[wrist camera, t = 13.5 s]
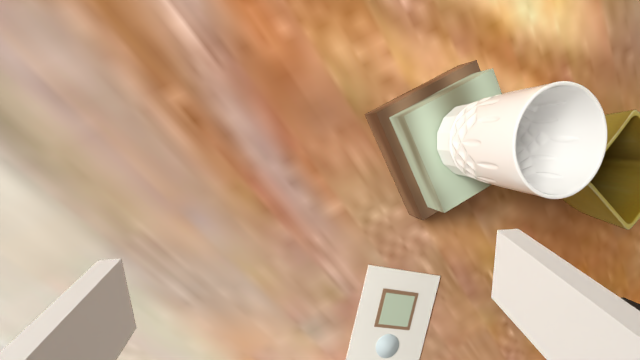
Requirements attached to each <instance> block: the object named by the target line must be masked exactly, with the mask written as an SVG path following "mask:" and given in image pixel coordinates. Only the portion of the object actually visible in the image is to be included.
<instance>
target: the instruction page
mask: <svg viewBox="0 0 640 360" xmlns="http://www.w3.org/2000/svg"><path fill="white" fill-rule="evenodd" d="M439 280H440V276H439V275H433V274H426V273H420V272H413V271H407V270H400V269H394V268H387V267H381V266H374V265H368V269H367V273H366V277H365V281H364V285H363V290H362V294H361V298H360V302H359V306H358V310H357V314H356V319H355V323H354V327H353V331H352V335H351V339H350V343H349V347H348V352H347V356H346V360H419V359H420V355H421V351H422V347H423V343H424V339H425V335H426V331H427V327H428V323H429V319H430V315H431V311H432V307H433V304H434V300H435V296H436V292H437V288H438V284H439Z"/></svg>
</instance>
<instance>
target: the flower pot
mask: <svg viewBox="0 0 640 360" xmlns="http://www.w3.org/2000/svg"><path fill="white" fill-rule="evenodd" d="M605 118H606V123H607V146H606V151H605V155H604V158H603V161H602V163H601V166H600V168H599V170H598V171H597V173H596V175H595V176H594V178H593V179H592V180H591V181H590V182H589V183H588V185H587V186H585V187H584V188H583V189H582V190H580V191H579V192H577V193H576V194H574V195H572V196H569V197H566V198H562V199H563V200H564V201H565V202H566V203H568V204H569V205H571V206H572V207H574V208H575V209H577V210H578V211H580V212H582V213H584V214H587V215H589V216H592V217H595V218H597V219H600V220H603V221H605V222H608V223H611V224H614V225H616V226H619V227H622V228H625V229H628V230H629V229H631V227H632V226H633V225H634V224H635V223H636V222H637V221H638V219H639V218H640V113H639V112H638V111H637V110H631V111H625V112H619V113H613V114H607V115H605Z"/></svg>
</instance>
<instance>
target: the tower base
mask: <svg viewBox="0 0 640 360" xmlns="http://www.w3.org/2000/svg"><path fill="white" fill-rule="evenodd" d="M500 94H502V93H501V90H500V87H499V84H498V81H497V79H496V76H495V73H494V70H493V68H492V69H488V70H485V71H480V69H479V66H478V63H477V60H475V61H472V62H469V63H465V64H462V65H459V66H457V67H455V68H453V69H451V70H449V71H447V72H445V73H443V74H441V75H439V76H437V77H436V78H434V79H432V80H430V81H428V82H426V83H424V84H422V85H420V86H418V87H416V88H414V89H413V90H411V91H409V92H407V93H405V94H403V95H401V96H399V97H397V98H395V99H393V100H391V101H390V102H388V103H386V104H384V105H382V106H380V107H378V108H376V109H374V110H372V111H370V112H368V113H367V114H365V117H366V119H367V121H368V123H369V126H370V128H371V130H372V132H373V135H374V137H375V139H376V141H377V144H378V146H379V148H380V150H381V152H382V155H383V157H384V159H385V161H386V164H387V166H388V168H389V170H390V173H391V175H392V177H393V179H394V182H395V184H396V186H397V188H398V191H399V193H400V195H401V197H402V200H403V202H404V204H405V206H406V209H407V211H408V213H409V214H410V215H412V216H414V217H417V218H419V219H421V220H424V219H426V218H428V217H430V216H431V215H433V214H435V213H436V212H438V211H440V212H443V213H445V212H447V211H449V210H450V209H452V208H454V207H455V206H457V205H459V204H460V203H462V202H464V201H465V200H467V199H469V198H470V197H472V196H474V195H475V194H477V193H479V192H480V191H482V190H484V189H485V188H487V187H489V186H490V185H492V184H488V183H485V182H481V181H478V180H476V179H474V178H471V177H467V176H463V175H458V174H454V173H453V172H452V171H451V170H450V169H448V168H447V167H446V166H445V165H444V164H443V163H442V160H441V158H440V156H439V153H438V151H437V132H438V129H439V127H440V125H441V122H442V120H443V118H444V117H445V116H446V115H447V114H448V113H449V112H450V111H451V110H452V109H453V108H454V107H456V106H459V105H463V104H467V103H470V102H475V101H479V100H480V99H483V98H487V97H491V96H495V95H500Z"/></svg>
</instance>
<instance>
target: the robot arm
mask: <svg viewBox="0 0 640 360" xmlns="http://www.w3.org/2000/svg"><path fill="white" fill-rule="evenodd" d="M491 298H492V299H493V300H494V301H495V302H496V303H497V305H498V306H499V307H500V308H501V309H502V310H503V311H504V312H505V313H506V315H507V316H508V317H509V318H510V319H511V320H512V321H513V322H514V324H515V325H516V326H517V327H518V328H519V329H520V330H521V331H522V332H523V334H524V335H525V336H526V337H527V338H528V339H529V340H530V341H531V343H532V344H533V345H534V346H535V347H536V348H537V349H538V350H539V351H540V353H541V354H542V355H543V356H544V357H545V358H546V359H547V360H640V304H638V303H635V302H633V301H631V300H628V299H626V298H624V297H623V298H620V297H618V296H617V295H615V294H614V293H612V292H611V291H609V290H608V289H606V288H605V287H603V286H602V285H601V284H599V283H598V282H596V281H595V280H593V279H592V278H590V277H589V276H587V275H586V274H584V273H583V272H581V271H580V270H578V269H577V268H575V267H574V266H572V265H571V264H569V263H568V262H567V261H565V260H564V259H562V258H561V257H559V256H558V255H556V254H555V253H553V252H552V251H550V250H549V249H547V248H546V247H544V246H543V245H541V244H540V243H538V242H537V241H535V240H534V239H533V238H531V237H530V236H528V235H527V234H525V233H524V232H522V231H521V230H519V229H508V230H497V239H496V251H495V262H494V273H493V285H492V296H491ZM135 329H136V323H135V319H134V314H133V310H132V305H131V300H130V296H129V291H128V287H127V282H126V277H125V273H124V268H123V264H122V259H109V260H98V261H97V262H96V263H95V264H94V265H93V266H92V267H90V268H89V269H88V270H87V271H86V272H85V273H84V274H83V275H82V276H81V277H80V278H79V279H78V280H77V281H75V282H74V283H73V284H72V285H71V286H70V287H69V288H68V289H67V290H66V291H65V292H64V293H63V294H62V295H60V296H59V297H58V298H57V299H56V300H55V301H54V302H53V303H52V304H51V305H50V306H49V307H48V308H47V309H45V310H44V311H43V312H42V313H41V314H40V315H39V316H38V317H37V318H36V319H35V320H34V321H33V322H32V323H30V324H29V325H28V326H27V327H26V328H25V329H24V330H23V331H22V332H21V333H20V334H19V335H18V336H17V337H15V338H14V339H13V340H12V341H11V342H10V343H9V344H8V345H7V346H6V347H5V348H4V349H3V350H2V351H0V360H116V359H117V358H118V356H119V355H120V353H121V352H122V350H123V348H124V347H125V345H126V344H127V342H128V340H129V339H130V337H131V336H132V334H133V332H134V331H135Z"/></svg>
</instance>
